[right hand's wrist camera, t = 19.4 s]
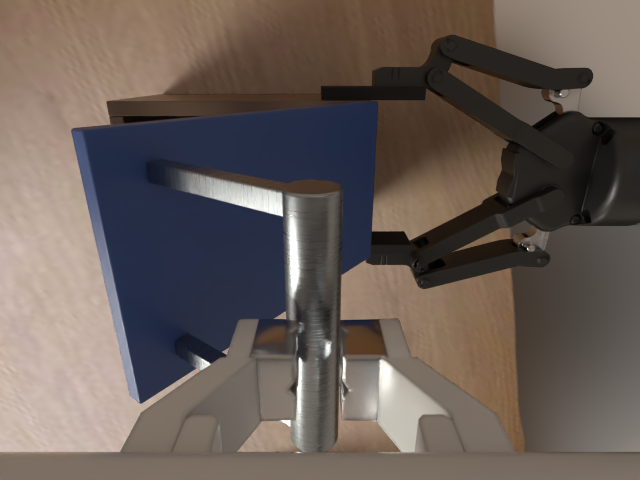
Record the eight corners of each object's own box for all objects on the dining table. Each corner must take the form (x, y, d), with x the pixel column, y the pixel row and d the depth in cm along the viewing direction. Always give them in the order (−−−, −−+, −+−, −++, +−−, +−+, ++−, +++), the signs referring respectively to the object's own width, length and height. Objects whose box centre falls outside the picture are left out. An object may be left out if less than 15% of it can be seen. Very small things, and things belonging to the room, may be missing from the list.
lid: (128, 396, 16) (289, 526, 11) (69, 128, 12) (273, 160, 7) (360, 253, 28) (481, 288, 24) (366, 100, 24) (511, 106, 20)
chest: (177, 210, 37) (134, 254, 28) (161, 94, 33) (105, 101, 24) (353, 210, 37) (365, 252, 28) (356, 93, 33) (371, 100, 25)
